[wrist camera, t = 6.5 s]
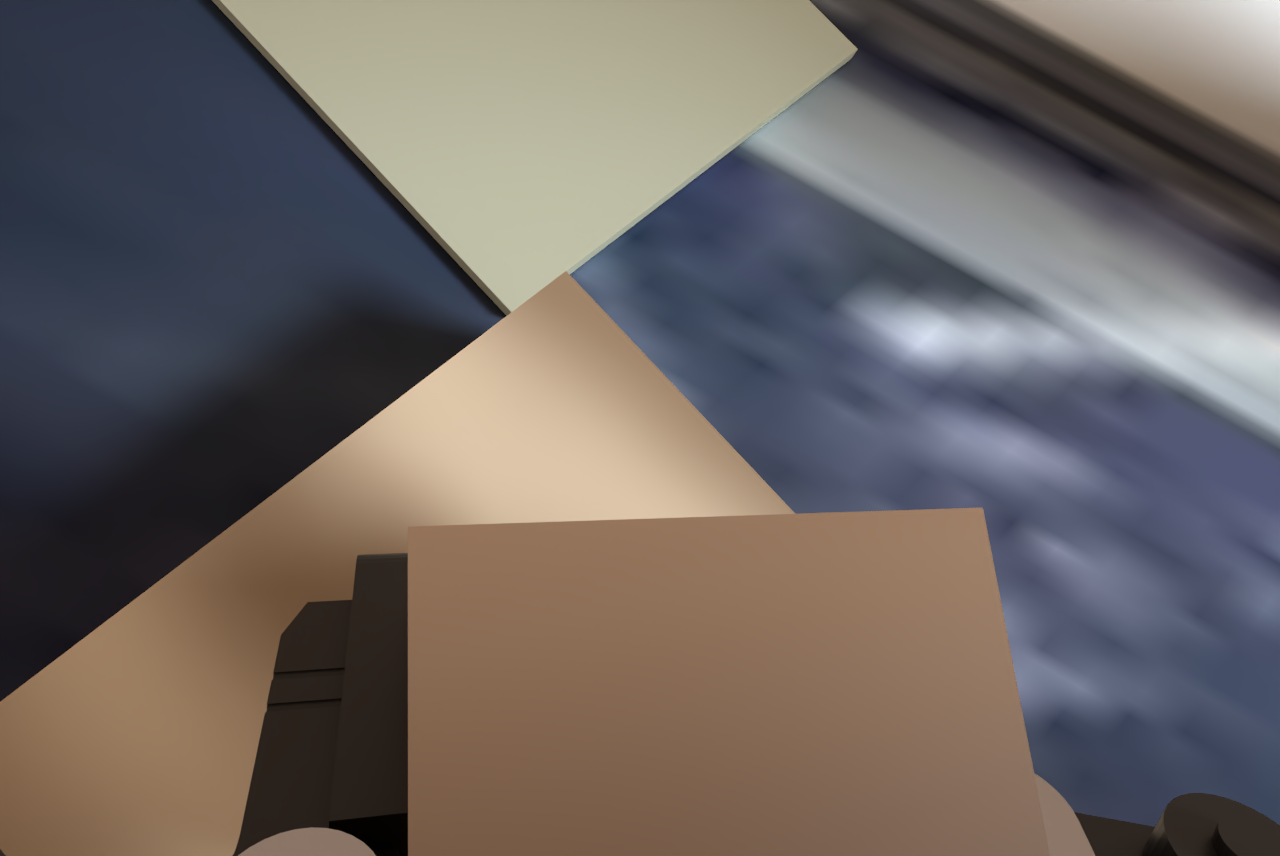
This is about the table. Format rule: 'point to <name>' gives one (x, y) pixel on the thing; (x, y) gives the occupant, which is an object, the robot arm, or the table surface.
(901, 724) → the walnut block
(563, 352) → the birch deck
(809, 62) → the sage mat
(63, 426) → the table surface
